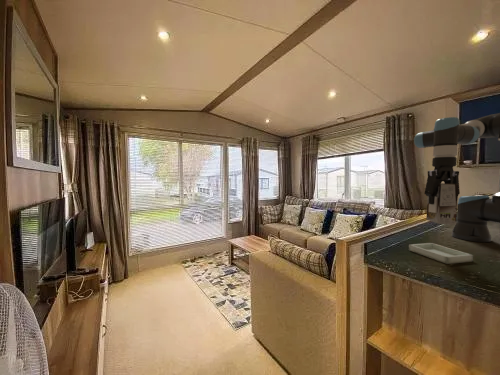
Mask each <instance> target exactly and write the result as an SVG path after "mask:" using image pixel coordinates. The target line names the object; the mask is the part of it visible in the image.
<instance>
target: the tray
mask: <svg viewBox="0 0 500 375" xmlns="http://www.w3.org/2000/svg"><path fill="white" fill-rule="evenodd" d="M408 251H409V252H413V253H415V254H418V255H421V256H424V257H426V258H430V259H432V260H434V261H438V262H441V263H443V264H446V265H448V264H449V265H450V264H451V265H453V264H459V263H460V264H461V263H469V262H474V254H471V253H468V252H465V251H461V250H457V249H453V248H450V247H446V246H445V245H440V244H437V243H433V242H426V243H424V242H423V243H413V244H408Z"/></svg>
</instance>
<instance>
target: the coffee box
mask: <svg viewBox="0 0 500 375" xmlns="http://www.w3.org/2000/svg"><path fill="white" fill-rule="evenodd" d="M458 187H459V188H460V183H459V184H445V183H444V182H443V183H442V182H441V184H438V192H437V194H436V196H435V197H438V200H437V213H433V212H429V196H427V198H426V220H427V221H430V222H432V223H435V224H439V225H454V226H455V225H456V223H457V211H458V205H457V204H458V200H459V195H458ZM428 192H429V191H428Z"/></svg>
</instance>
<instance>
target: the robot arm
mask: <svg viewBox="0 0 500 375" xmlns="http://www.w3.org/2000/svg"><path fill="white" fill-rule="evenodd" d="M491 138H497V141H499V142H500V112H499V113H498V112H497V113H494V114H493V113H492V114H489V115H485V116H482V117H479V118H475V119H472V120H468V121H466V122H465V123H462V124H460V119H459V118H458V117H457V116H456V117H455V116H452V117H451V116H450V117H442V118H438V119H437V120H436V121H435V123H434V128H433V130H428V131H422V132H418V133H417V134H416V135H415V136H414V138H413V143H414V146H415V147H417V148H418V149H425V148H432V157H433V158H432V161H431V163H432V164H431V166H432V167H434V169H433V170H427V179H426V184H425V188H424V189H425V190H424V195H425V196H429V212H433V213H437V200H438V197H435V196H436V194H437V192H438V184H441V183H442V182H443V183H445V184H459V185H460V180H459V175H460V171H459V170H454V167H456V166H457V157H456V156H458V145H470V144H473V143H474V142H476V141H477V140H478V139H491ZM498 173H499V174H498V182H497V190H496V191H497V192H496V193H494V194H492V196H491V197H490V195H462V196H460V186H459V187H458V196H460V197H458V201H457V217H456V225H454V228H452V231H451V237H453V238H456V239H460V240H464V241H470V242H475V243H490V242H492V236H491V232H490V230H489V228H488V227H489V226H488V222H491V223H497V224H500V170H499V172H498ZM428 191H429V192H428Z"/></svg>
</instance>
